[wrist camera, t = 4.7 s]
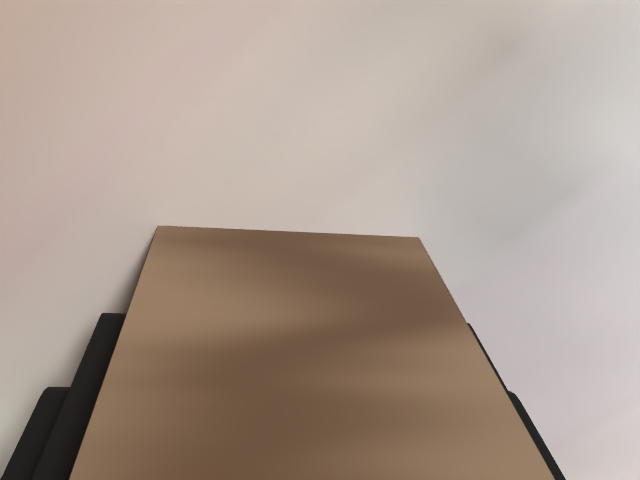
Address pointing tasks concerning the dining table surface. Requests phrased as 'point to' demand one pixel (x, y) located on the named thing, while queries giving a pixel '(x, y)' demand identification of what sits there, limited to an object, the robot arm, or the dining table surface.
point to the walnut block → (299, 368)
